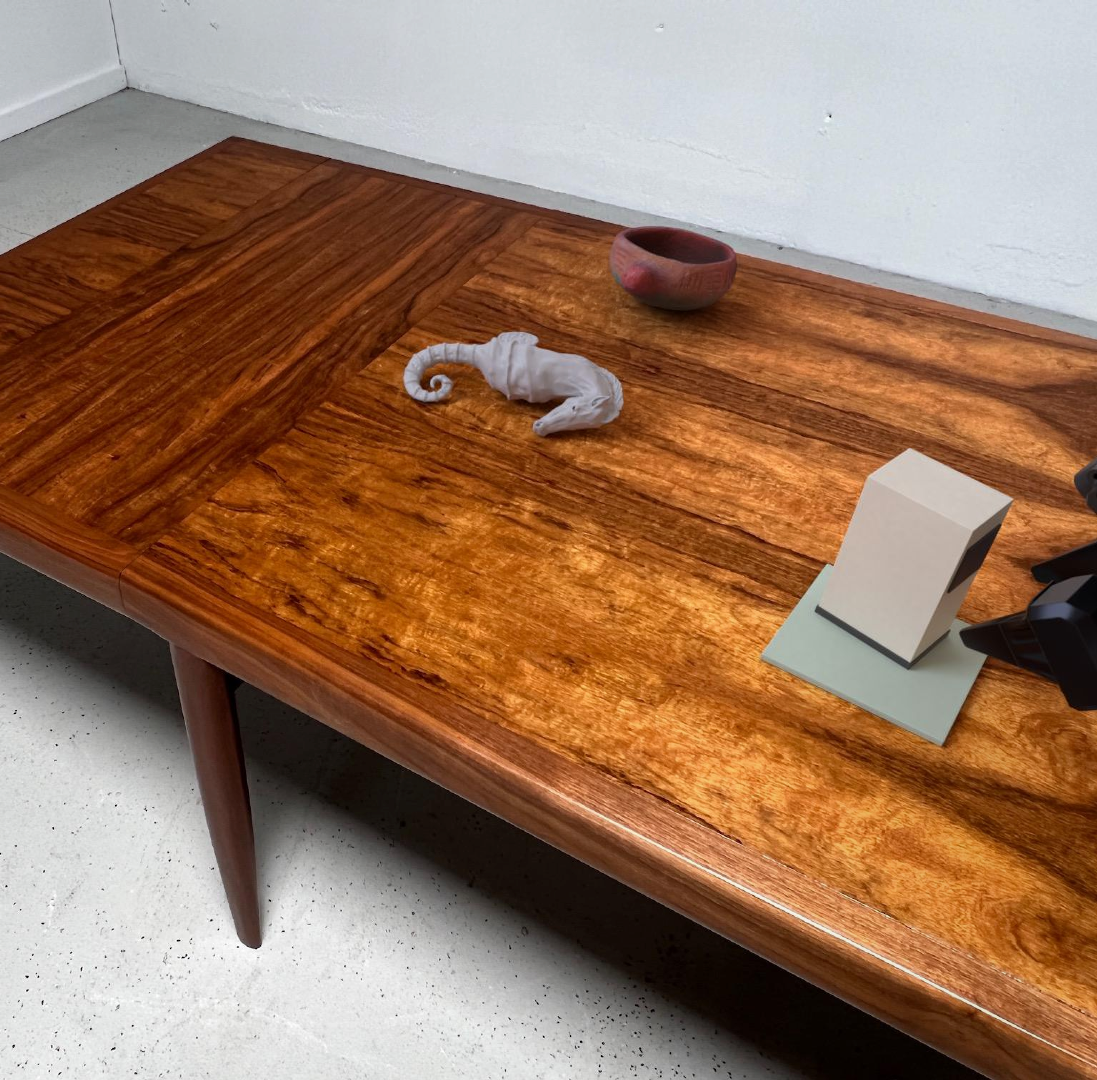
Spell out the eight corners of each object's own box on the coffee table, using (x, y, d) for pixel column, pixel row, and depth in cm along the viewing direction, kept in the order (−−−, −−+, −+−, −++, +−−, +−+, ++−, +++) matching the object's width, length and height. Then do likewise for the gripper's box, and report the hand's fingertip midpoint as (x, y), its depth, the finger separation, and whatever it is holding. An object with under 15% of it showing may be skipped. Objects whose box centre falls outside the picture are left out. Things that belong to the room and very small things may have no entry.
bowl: (600, 272, 116) (611, 202, 111) (719, 279, 115) (735, 208, 110) (607, 345, 104) (619, 270, 99) (740, 353, 103) (760, 278, 98)
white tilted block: (855, 580, 77) (909, 446, 70) (948, 636, 73) (1017, 499, 65) (813, 611, 75) (865, 475, 67) (908, 670, 71) (975, 532, 63)
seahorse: (388, 414, 93) (622, 414, 88) (406, 315, 98) (627, 310, 93) (398, 449, 97) (622, 451, 92) (416, 352, 103) (627, 349, 98)
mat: (994, 640, 73) (997, 635, 73) (941, 747, 66) (943, 742, 66) (825, 568, 79) (827, 563, 79) (759, 658, 72) (761, 653, 72)
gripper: (1301, 356, 57) (1015, 435, 70) (1158, 488, 48) (862, 551, 61) (1386, 541, 57) (1086, 585, 71) (1260, 708, 48) (944, 721, 62)
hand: (999, 605), depth 66 cm, fingers open, 9 cm apart
